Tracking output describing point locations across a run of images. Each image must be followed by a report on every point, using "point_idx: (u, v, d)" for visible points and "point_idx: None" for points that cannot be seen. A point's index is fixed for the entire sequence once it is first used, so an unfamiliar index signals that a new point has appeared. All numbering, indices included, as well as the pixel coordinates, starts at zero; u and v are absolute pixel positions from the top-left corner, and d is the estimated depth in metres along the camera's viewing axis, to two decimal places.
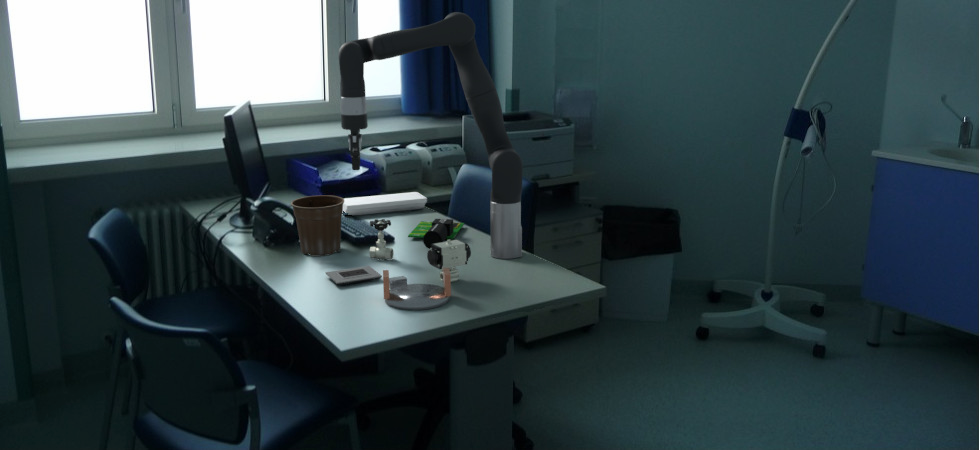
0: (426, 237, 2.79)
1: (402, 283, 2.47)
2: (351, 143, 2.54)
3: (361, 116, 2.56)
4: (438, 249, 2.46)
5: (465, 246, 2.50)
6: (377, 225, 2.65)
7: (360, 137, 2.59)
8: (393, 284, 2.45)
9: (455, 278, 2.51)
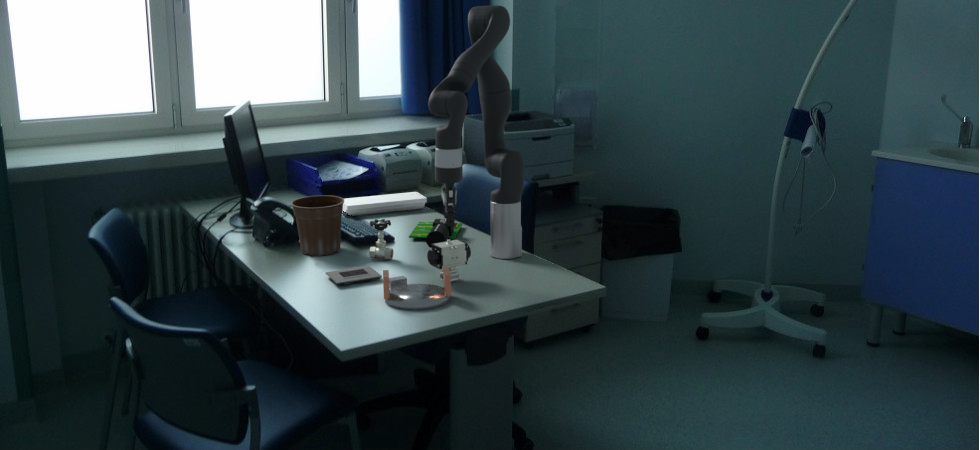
0: (429, 237, 2.79)
1: (402, 283, 2.47)
2: (447, 198, 2.38)
3: (457, 169, 2.41)
4: (438, 249, 2.46)
5: (465, 246, 2.50)
6: (377, 225, 2.65)
7: (455, 191, 2.43)
8: (393, 284, 2.45)
9: (455, 278, 2.51)
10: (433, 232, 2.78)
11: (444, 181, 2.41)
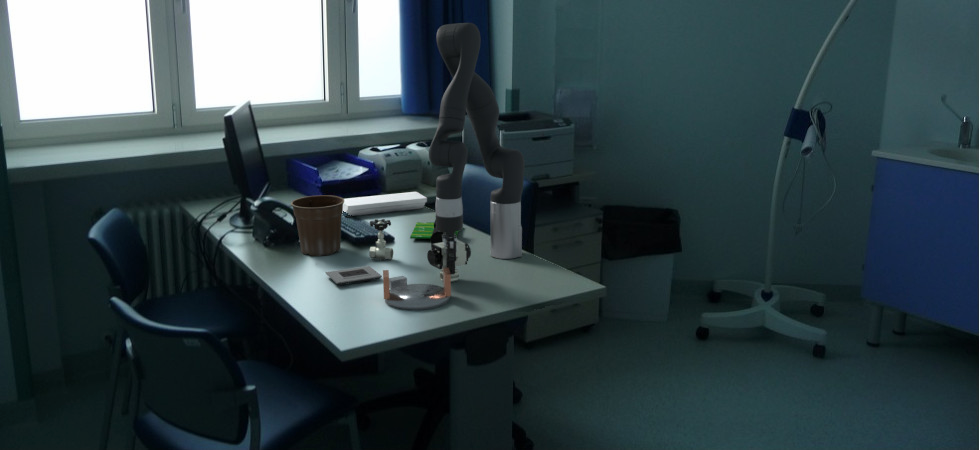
0: (433, 238, 2.78)
1: (402, 283, 2.47)
2: (448, 249, 2.43)
3: (457, 218, 2.44)
4: (438, 249, 2.46)
5: (465, 246, 2.50)
6: (377, 225, 2.65)
7: (455, 239, 2.47)
8: (394, 284, 2.45)
9: (455, 278, 2.51)
10: (437, 232, 2.78)
11: (445, 230, 2.44)
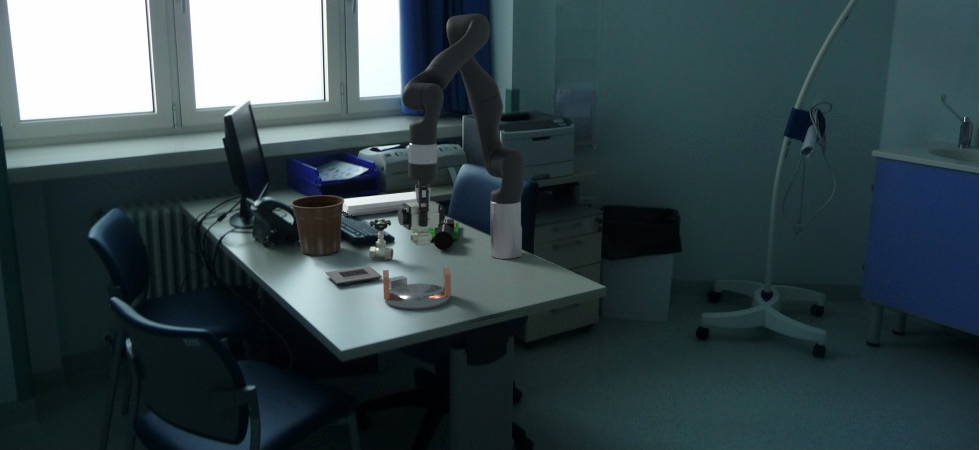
0: (437, 238, 2.78)
1: (402, 283, 2.47)
2: (420, 198, 2.28)
3: (431, 166, 2.29)
4: (407, 208, 2.32)
5: (438, 208, 2.35)
6: (377, 225, 2.65)
7: (429, 188, 2.32)
8: (394, 284, 2.45)
9: (426, 241, 2.36)
10: (441, 232, 2.78)
11: (417, 178, 2.29)
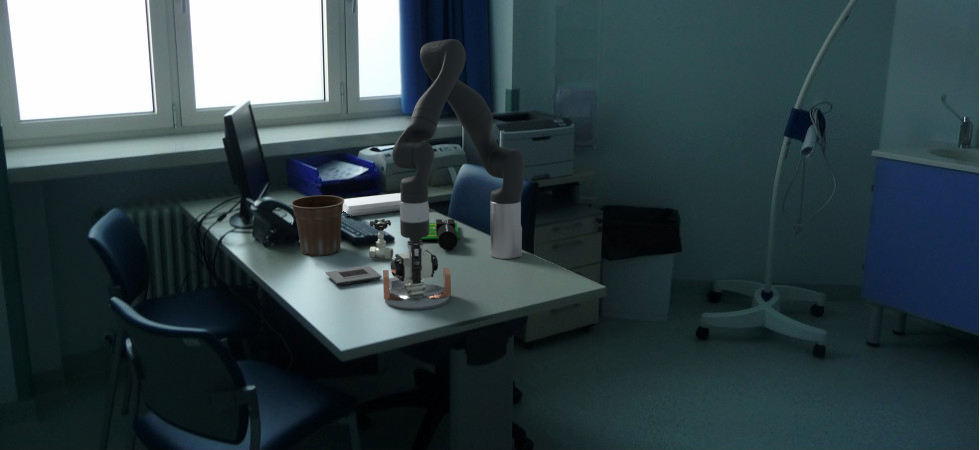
0: (441, 238, 2.78)
1: (402, 283, 2.47)
2: (413, 257, 2.27)
3: (423, 224, 2.29)
4: (400, 260, 2.31)
5: (431, 258, 2.34)
6: (377, 225, 2.65)
7: (421, 245, 2.32)
8: (394, 284, 2.45)
9: (420, 291, 2.36)
10: (445, 232, 2.78)
11: (410, 236, 2.29)
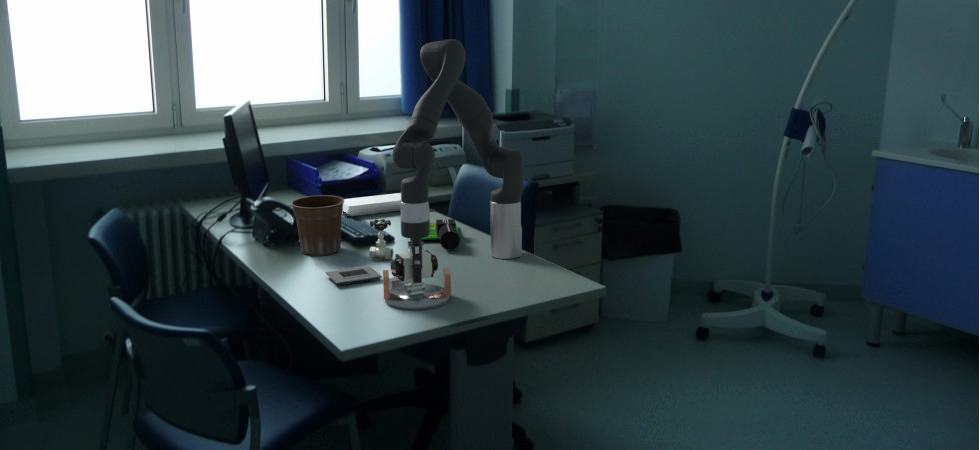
0: (443, 238, 2.78)
1: (402, 283, 2.47)
2: (413, 255, 2.27)
3: (424, 224, 2.29)
4: (400, 260, 2.31)
5: (431, 258, 2.34)
6: (377, 225, 2.65)
7: (422, 246, 2.31)
8: (395, 284, 2.45)
9: (420, 291, 2.36)
10: (447, 232, 2.78)
11: (410, 236, 2.29)
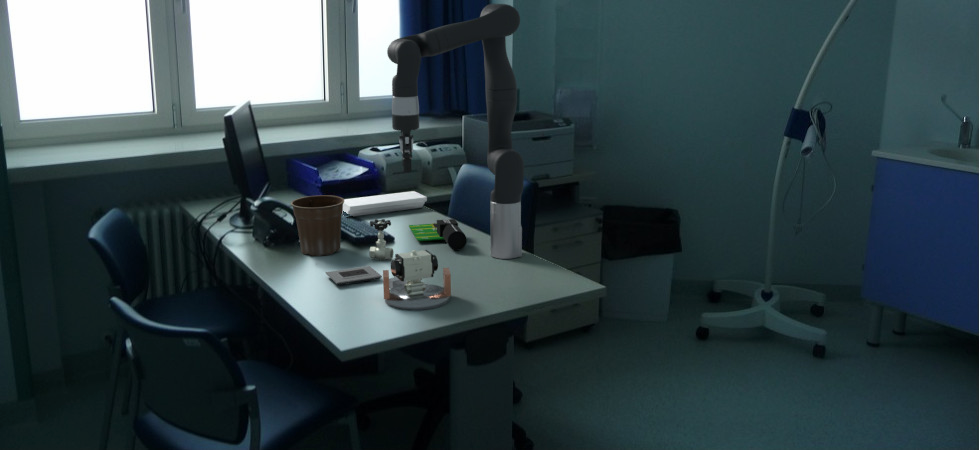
0: (451, 238, 2.78)
1: (403, 282, 2.47)
2: (403, 144, 2.44)
3: (413, 117, 2.46)
4: (400, 260, 2.31)
5: (431, 258, 2.34)
6: (377, 225, 2.65)
7: (412, 138, 2.49)
8: (395, 284, 2.45)
9: (420, 291, 2.36)
10: (455, 232, 2.78)
11: (401, 128, 2.47)
